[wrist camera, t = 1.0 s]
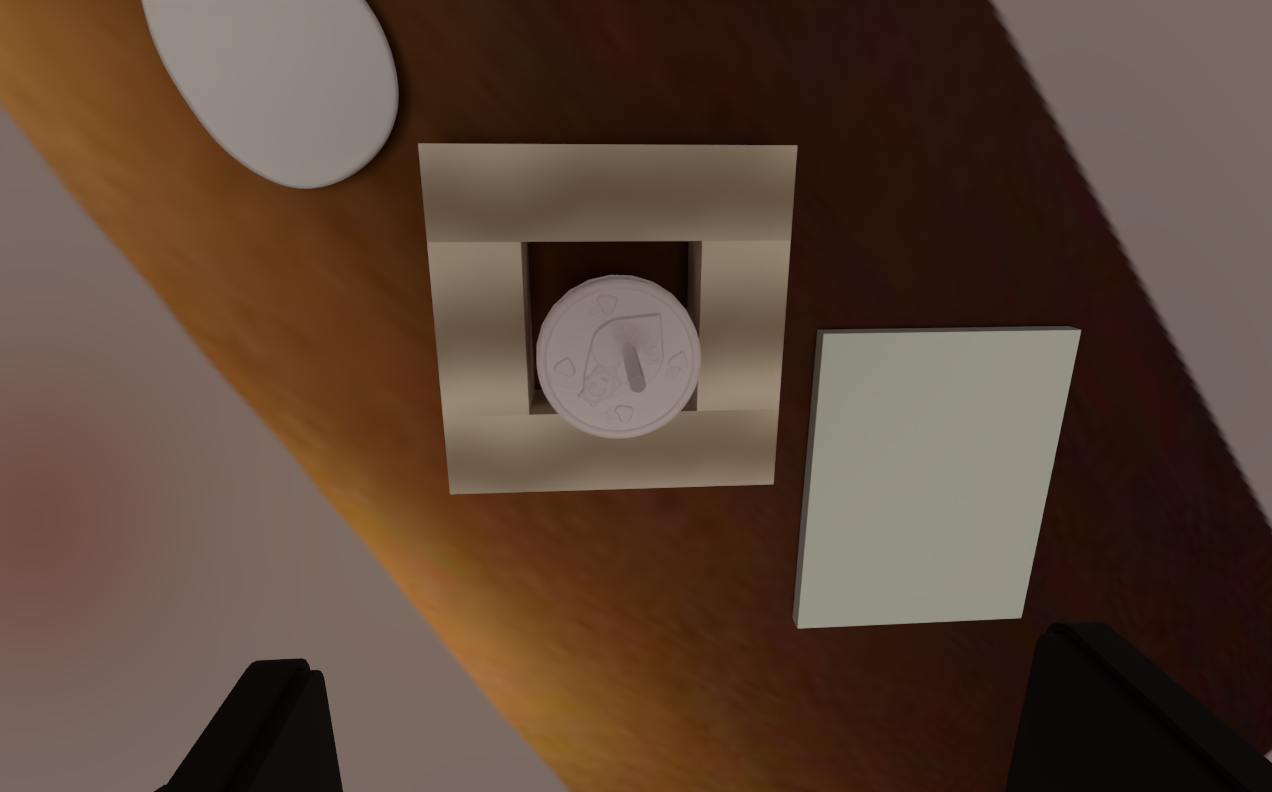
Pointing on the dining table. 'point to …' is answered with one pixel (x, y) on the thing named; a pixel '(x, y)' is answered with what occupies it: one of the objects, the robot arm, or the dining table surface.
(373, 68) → the white long flared piece
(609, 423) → the smoothie
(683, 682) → the dining table surface
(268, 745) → the robot arm
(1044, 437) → the serving board
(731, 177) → the wooden square frame
